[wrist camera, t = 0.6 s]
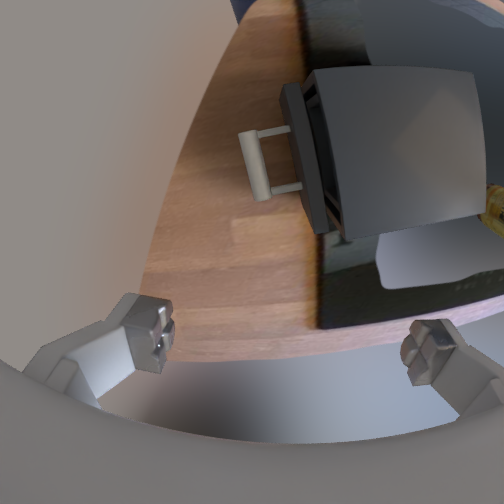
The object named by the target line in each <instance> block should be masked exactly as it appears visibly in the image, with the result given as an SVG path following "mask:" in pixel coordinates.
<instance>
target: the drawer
mask: <svg viewBox="0 0 504 504" xmlns="http://www.w3.org/2000/svg"><path fill="white" fill-rule="evenodd" d="M279 102H280V106H281V110H282V114H283V118H284V123H285V126H281V127H276V128H271V129H266V130H261V131H258V132H257V130H256V129H255V130H250V131H246V132H242V133H239V134H238V137H239V141H240V145H241V149H242V153H243V156H244V160H245V164H246V168H247V172H248V176H249V181H250V185H251V189H252V193H253V197H254V200H255V201H264V200H268V199H270V198H272V195H276V194H281V193H286V192H291V191H296V190H299V191H300V197H301V202H302V206H303V208H304V210H305V213H306V215H307V217H308V220H309V222H310V224H311V227H312V229H313V232H314V234H319V233H324V232H329V227H328V220H327V213H326V207H325V200H324V194H323V188H322V183H321V177H320V172H319V166H318V161H317V156H316V151H315V146H314V141H313V137H312V132H311V128H310V123H309V119H308V115H307V110H306V106H305V102H304V98H303V94H302V90H301V87H300V83H299V82H296V83H290V84H284V85H283V87H282V91H281V94H280V98H279ZM306 104H307V108H308V113H309V117H310V121H311V125H312V130H313V135H314V139H315V144H316V149H317V154H318V159H319V164H320V169H321V175H322V180H323V186H324V192H325V195H326V196H327V197H328V198H329V199H330V201H331V202H332V203H333V204H334V205H335V207H336V208H337V209H338V210H339V204H338V197H337V190H336V184H335V178H334V172H333V166H332V161H331V155H330V150H329V145H328V140H327V135H326V130H325V126H324V121H323V117H322V112H321V108H320V104H319V100H318V96H317V94H315V95H314V96H313V97H312V98H310V99H309V100H308V101H307V102H306ZM282 133H287V135H288V140H289V144H290V148H291V153H292V158H293V162H294V167H295V172H296V176H297V181H298V182H296V183H291V184H286V185H281V186H276V187H270V183H269V179H268V174H267V170H266V166H265V162H264V157H263V153H262V149H261V145H260V141H259V138H262V137H267V136H272V135H277V134H282Z"/></svg>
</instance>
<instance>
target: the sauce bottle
mask: <svg viewBox="0 0 504 504" xmlns="http://www.w3.org/2000/svg"><path fill="white" fill-rule="evenodd" d="M477 216H478V218H479V219H480V221H482V222H483V224H484V225H485V226H486V227H488V228H489V229H491V230H492V231H494V232H495V233H497V234H498V235H499V236H501V237H502V238H503V239H504V188H503V187H501V186H499V185H494V184H487V185H486V212H485V213H481V214H477Z"/></svg>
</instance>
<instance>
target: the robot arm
mask: <svg viewBox="0 0 504 504" xmlns="http://www.w3.org/2000/svg"><path fill="white" fill-rule="evenodd" d="M172 312H173V306H172V302H171V300H167V299H162V298H156V297H151V296H146V295H140V294H134V293H126V294H125V295H124V296H123V297H122V299H121V300H120V301H119V302H118V304H117V305H116V306H115V308H114V309H113V310H112V312H111V313H110V314H109V316H108V317H107V318H106V320H105V321H98V322H96V323H94V324H91V325H89V326H87V327H84V328H82V329H80V330H78V331H75V332H73V333H71V334H69V335H67V336H64V337H62V338H60V339H57V340H55V341H53V342H51V343H48V344H47V345H44V346H42V347H41V348H40V350H39V351H38V352H37V353H36V354H35V356H34V357H33V358H32V360H31V361H30V362H29V364H28V365H27V366H26V368H25V369H24V370H23V372H20V371H18V370H16V369H15V368H13V367H12V366H10V365H8V364H7V363H5V362H3V361H2V360H0V504H504V368H503V367H502V366H500V365H499V364H497V363H496V362H495V361H493V360H491V359H490V358H489V357H487V356H486V355H484V354H483V353H481V352H480V351H478V350H476V349H475V348H474V347H472V346H468V345H467V344H466V342H465V341H464V339H463V338H462V336H461V335H460V334H459V332H458V331H457V329H456V328H455V326H454V325H453V324H452V322H451V321H450V320H448V319H436V320H415V321H414V322H413V323H412V324H411V326H410V328H409V330H410V334H409V335H408V336H407V337H406V338H405V339H404V341H403V343H402V345H401V351H400V355H401V359H402V362H403V364H404V365H406V366H407V367H408V372H407V374H408V376H409V378H410V381H411V383H412V385H413V386H420V385H429V384H431V386H432V387H433V388H434V389H435V390H436V391H437V392H438V393H439V394H440V395H441V396H442V397H443V398H444V399H445V400H446V401H447V402H448V403H449V404H450V405H451V406H452V407H453V408H454V409H455V410H456V412H458V414H459V415H460V416H459V417H458V418H457V419H456V421H454V422H451V423H447V424H444V425H440V426H436V427H433V428H429V429H424V430H420V431H416V432H411V433H406V434H401V435H395V436H389V437H384V438H376V439H369V440H360V441H350V442H337V443H320V444H319V443H318V444H280V443H278V444H277V443H260V442H247V441H237V440H228V439H219V438H213V437H207V436H200V435H195V434H189V433H184V432H180V431H175V430H170V429H166V428H162V427H158V426H154V425H150V424H146V423H143V422H139V421H135V420H132V419H129V418H126V417H122V416H119V415H116V414H113V413H110V412H107V411H105V410H102V408H101V407H100V405H99V403H98V401H97V398H99V397H100V396H101V395H103V394H104V393H106V392H107V391H108V390H110V389H111V388H112V387H114V386H115V385H117V384H118V383H119V382H121V381H122V380H123V379H125V378H126V377H127V376H129V375H130V374H131V373H133V372H134V371H135V370H136V369H138V370H143V371H148V372H153V373H158V374H161V372H162V369H163V366H164V364H165V362H166V352H167V351H169V350H170V349H171V347H172V344H173V340H174V335H175V325H174V321H173V320H172V319H171V315H172Z"/></svg>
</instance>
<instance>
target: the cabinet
mask: <svg viewBox="0 0 504 504" xmlns="http://www.w3.org/2000/svg"><path fill="white" fill-rule="evenodd" d="M301 90H302V94H303V98H304V102H305V106H306V110H307V115H308V119H309V123H310V128H311V132H312V137H313V141H314V146H315V151H316V156H317V161H318V166H319V172H320V177H321V183H322V188H323V194H324V200H325V207H326V212H327V213H328V215H329V216H330V218H331V219H332V221H333V222H334V224H335V225H336V227H337V228H338V230H339V231H340V233H341V235H342V236H343V238H344V239H345V240H352V239H357V238H362V237H367V236H372V235H377V234H381V233H387V232H392V231H397V230H402V229H407V228H412V227H417V226H422V225H427V224H432V223H437V222H442V221H447V220H452V219H457V218H462V217H467V216H471V215H476V214H481V213H485V212H486V157H485V143H484V133H483V125H482V118H481V111H480V105H479V100H478V95H477V90H476V85H475V81H474V76H473V73H471V72H465V71H457V70H450V69H442V68H432V67H420V66H396V65H373V66H349V67H336V68H325V69H316V70H313V71H312V73H311V74H310V75H309V77H308V78H307V79H306V81H305V82H304V84H303V85H302V86H301ZM315 94H317V96H318V100H319V104H320V108H321V112H322V117H323V121H324V126H325V130H326V135H327V140H328V145H329V150H330V155H331V161H332V166H333V172H334V178H335V184H336V190H337V197H338V204H339V210H338V209H337V208H336V207H335V205H334V204H333V203H332V202H331V201H330V199H329V198H328V197H327V196H326V195H325V192H324V186H323V180H322V175H321V169H320V164H319V159H318V154H317V149H316V144H315V139H314V135H313V130H312V125H311V121H310V117H309V113H308V108H307V104H306V102H307V101H308V100H309V99H310V98H312V97H313V96H314V95H315Z"/></svg>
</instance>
